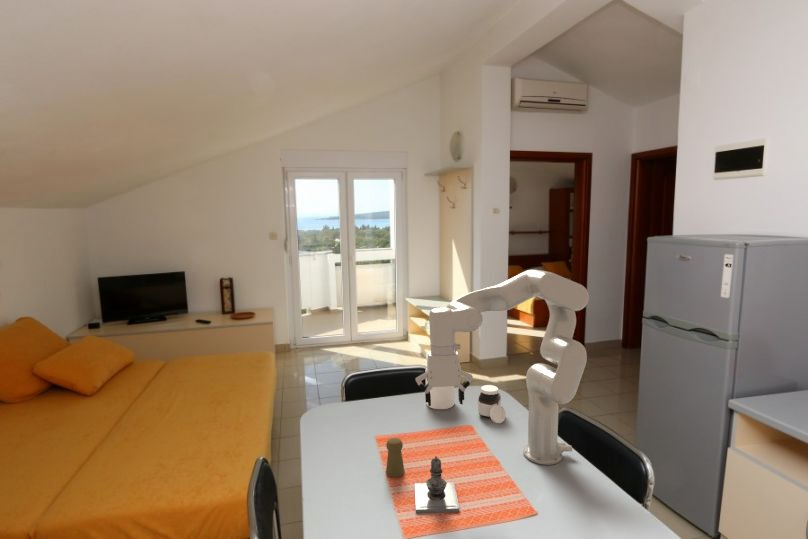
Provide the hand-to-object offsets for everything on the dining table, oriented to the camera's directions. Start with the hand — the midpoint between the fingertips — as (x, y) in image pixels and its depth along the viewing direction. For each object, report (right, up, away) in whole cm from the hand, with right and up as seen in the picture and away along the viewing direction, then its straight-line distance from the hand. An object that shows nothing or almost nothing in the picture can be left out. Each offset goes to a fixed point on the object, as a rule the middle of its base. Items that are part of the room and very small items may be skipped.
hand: (444, 403), depth 136 cm
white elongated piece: (+3, -18, +58) cm, 61 cm away
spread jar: (+23, -19, +44) cm, 54 cm away
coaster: (-3, -26, -6) cm, 27 cm away
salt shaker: (-3, -25, -6) cm, 26 cm away
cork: (-15, -25, +7) cm, 30 cm away
